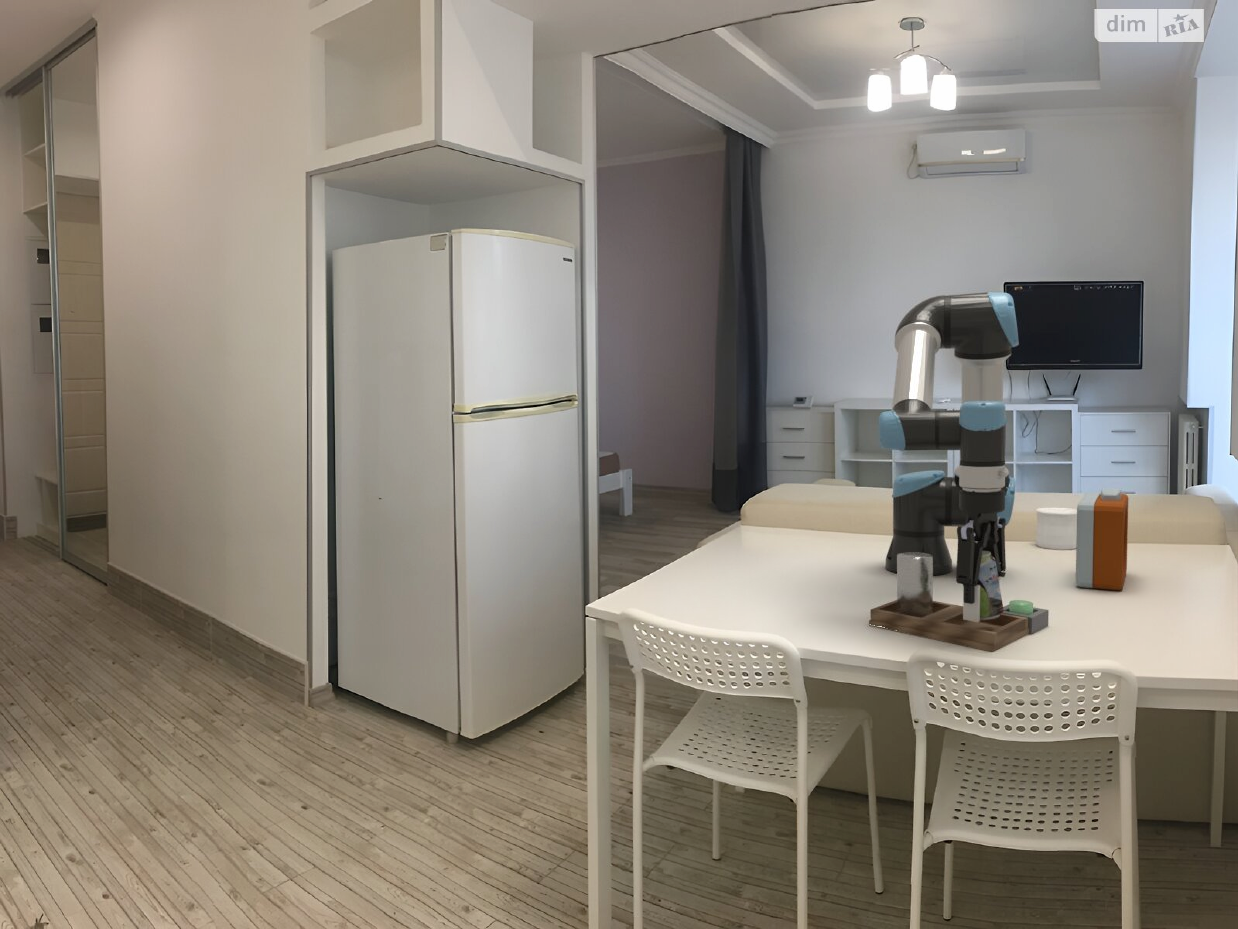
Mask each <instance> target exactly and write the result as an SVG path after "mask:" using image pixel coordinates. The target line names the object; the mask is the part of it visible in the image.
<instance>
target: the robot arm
mask: <svg viewBox="0 0 1238 929" xmlns="http://www.w3.org/2000/svg"><path fill="white" fill-rule="evenodd" d="M1016 316H1017V315H1016V308H1015V302H1014V298H1013V296H1012V295H1011V294H1010V293H1007V292H993V291H992V292H990V291H988V292H978V293H977V292H975V293H974V292H973V293H963V294H950V295H936V296H933V297H929V298H927V299H925V300H922V301H921V302H919V303H918V304H916V305H915V306H914V307H913V308H911V309H910V310H909V311H908V312H907V313H906V314H905V315H904V316H903V318H901V321H900V322H899V324H898V325H897V328H896V331H895V335H894V342H893V343H894V348H895V349H896V353H897V359H896V360H897V361H896V370H895V381H894V389H893V398H892V407H891V409H890V410H889V411H888V410H887V411H883V412H880V415H879V418H878V442H879V446H880V447H881V449H883V450H890V451H892V450H893V451H900V452H903V451H936V450H937V451H959V465H958V466H957V467H956V468H955V469H954V471H953V473H954V475H953V476H946V473H945V471H943V470H940V469H939V470H933V469H932V470H923V471H915V472H914V471H913V472H908V473H904V474H901V475H898V476H897V477H895V479H894V481H893V486H892V487H893V488H892V490H893V491H892V495H891V498H892V503H893V504H892V506H893V508H892V537H891V538H892V539H891V542H890V544H889V548H888V551H887V553H886V557H885V569H886V568H887V569H888V570H887V569H886V570H887V571H889V570H890V571H889V572H893V573H896V572H897V555H898V554H900V553H906V552H918V553H926V554H930V555H932V556H933V576H939V575H944V574H948V573H951V572H953V559H952V557H951V554H950V550H949V548H948V543H947V541H946V538H945V527H957V528H956V535H957V554H956V569H955V570H956V572H955V581H956V583H957V584H958V585H959V584H961V585H962V587H963V588H962V589H963V590H962V592H963V593H962V596H963V598H962V606H963V620H968V621H973V622H980V585H977V582H978V576H979V570H980V564H981V558H982V552H983V551H989V552H991V555H992V556H993V557H994V558H995V560H996V566H997V573H998V579H999V580H1000V578H1005V577H1006V570H1007V563H1006V558H1007V557H1006V539H1005V538H1006V537H1005V536H1006V535H1005V529H1006V526H1008V524H1009V523H1010V521H1011V518H1012V515H1013V510H1014V503H1015V496H1016V495H1015V494H1016V485H1017V483H1016V479H1015V478H1014V477H1012V476H1010V471H1009V469H1008V468H1007V467H1006V441H1007V440H1006V435H1007V433H1006V432H1007V430H1006V429H1007V421H1008V418H1007V413H1006V404H1005V403H1004V364H1005V363H1004V362H1005V361H1007V359H1009V357H1011V356H1012V348H1015V347H1018V346H1019V345H1020V342H1019V332H1018V325H1017V324H1018V323H1017V317H1016ZM940 349H946V350H948V349H953V350H954V355H953V356H954V358H955V359H956V360H957V361H959V362H960V364H961V405H960V407H959V408H960V409H955V410H954V409H953V410H952V409H950V410H947V409H945V410H942V409H941V410H936V409H935V410H934V409H933V405H934V403H933V402H934V386H935V385H934V382H935V371H936V370H935V369H936V368H935V365H936V354H937V353H938V352H939V350H940Z"/></svg>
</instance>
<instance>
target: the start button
mask: <svg viewBox="0 0 1238 929" xmlns="http://www.w3.org/2000/svg"><path fill="white" fill-rule="evenodd" d="M1008 605H1009V612H1013V613H1018V614H1024V615H1030V614H1032V613H1033V607H1034V603H1033V601H1029V600H1021V599H1013V600H1010V601H1009V604H1008Z"/></svg>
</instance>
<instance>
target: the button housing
mask: <svg viewBox="0 0 1238 929" xmlns="http://www.w3.org/2000/svg"><path fill="white" fill-rule="evenodd" d="M1003 610H1004V611H1003V614H1009V615H1015V616H1020V617H1026V618H1028V628H1029V634H1028V635H1032V634H1035V633H1037V632H1039V631H1041V630H1043V629H1045V628H1047V627H1049V615H1050V614H1049V611H1050V610H1049V609H1047V608H1046V609H1045V608H1040V607H1039V608H1038V607H1034V606H1033V613H1032V614H1030V615H1024V614H1018V613H1013V612H1009V604H1007V605H1003Z"/></svg>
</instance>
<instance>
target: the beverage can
mask: <svg viewBox="0 0 1238 929" xmlns="http://www.w3.org/2000/svg"><path fill="white" fill-rule="evenodd" d="M977 585H980V620H988V619H994V618H997V617H999V616H1000V614H1001V613H1003V611H1004V610H1003V607H1004V605H1003V599H1002V598H1003V597H1002V592H1001V587H1000V578H999V579H998V573H997V566H996V560H995V558H994V557H993V556H992V555H991V552H989V551H983V552H982V558H981V564H980V570H979V576H978V582H977Z"/></svg>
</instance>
